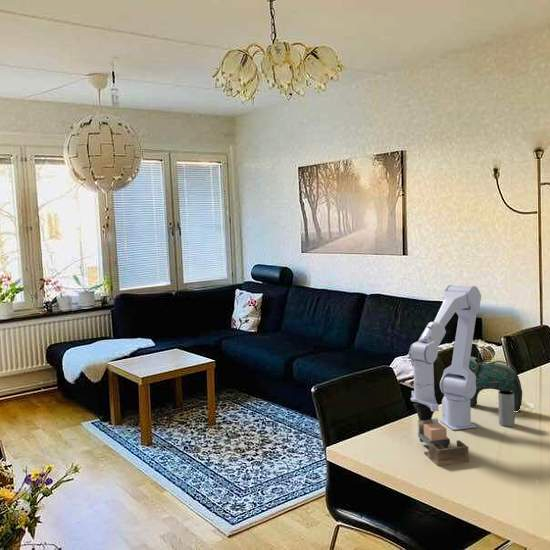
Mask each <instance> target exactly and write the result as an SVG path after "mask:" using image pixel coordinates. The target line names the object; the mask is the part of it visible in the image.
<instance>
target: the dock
mask: <svg viewBox="0 0 550 550" xmlns="http://www.w3.org/2000/svg"><path fill="white" fill-rule="evenodd" d="M428 449H429V450H428V451H423V454H424V455H425V457H427V458H428V459H429V460H430V461H432V463H434V464H435V465H436V466H438V467H439V466H445V465H446V466H447V465H452V464H462V463H468V462H469V461H470V458H469V446H468V445H466V444H465V443H463V442H462V441H461V440H459V439H458V440H457V439H456V446H455V447H448V448H441V449H439V448H438V446H434V445H433V444H429V448H428Z"/></svg>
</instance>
